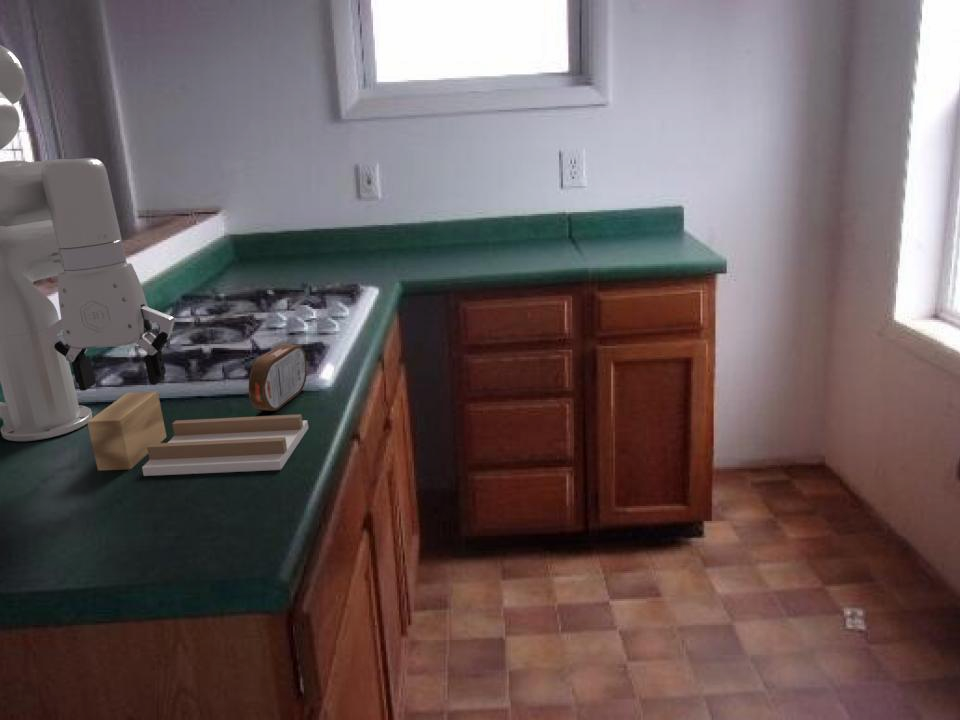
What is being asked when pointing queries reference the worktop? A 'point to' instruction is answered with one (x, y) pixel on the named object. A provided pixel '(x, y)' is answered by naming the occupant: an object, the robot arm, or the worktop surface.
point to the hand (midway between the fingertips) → (122, 384)
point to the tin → (277, 377)
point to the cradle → (227, 445)
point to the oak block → (126, 430)
